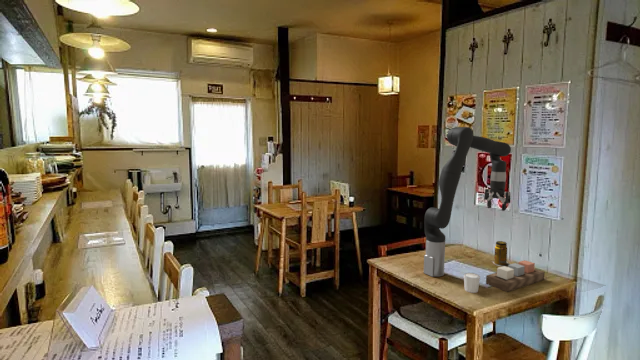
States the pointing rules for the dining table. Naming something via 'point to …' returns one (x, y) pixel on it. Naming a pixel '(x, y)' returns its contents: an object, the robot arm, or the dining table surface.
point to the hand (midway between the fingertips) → (496, 209)
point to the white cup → (471, 282)
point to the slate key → (517, 269)
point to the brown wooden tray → (515, 280)
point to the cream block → (505, 272)
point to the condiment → (500, 254)
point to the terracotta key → (527, 266)
